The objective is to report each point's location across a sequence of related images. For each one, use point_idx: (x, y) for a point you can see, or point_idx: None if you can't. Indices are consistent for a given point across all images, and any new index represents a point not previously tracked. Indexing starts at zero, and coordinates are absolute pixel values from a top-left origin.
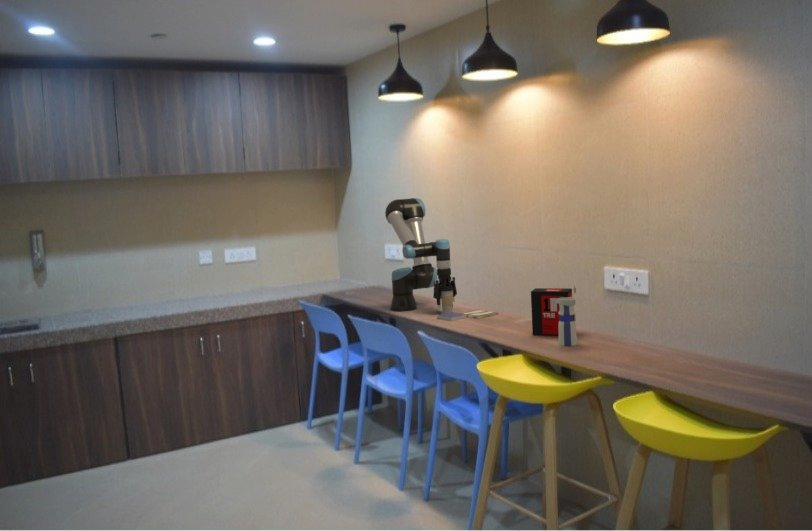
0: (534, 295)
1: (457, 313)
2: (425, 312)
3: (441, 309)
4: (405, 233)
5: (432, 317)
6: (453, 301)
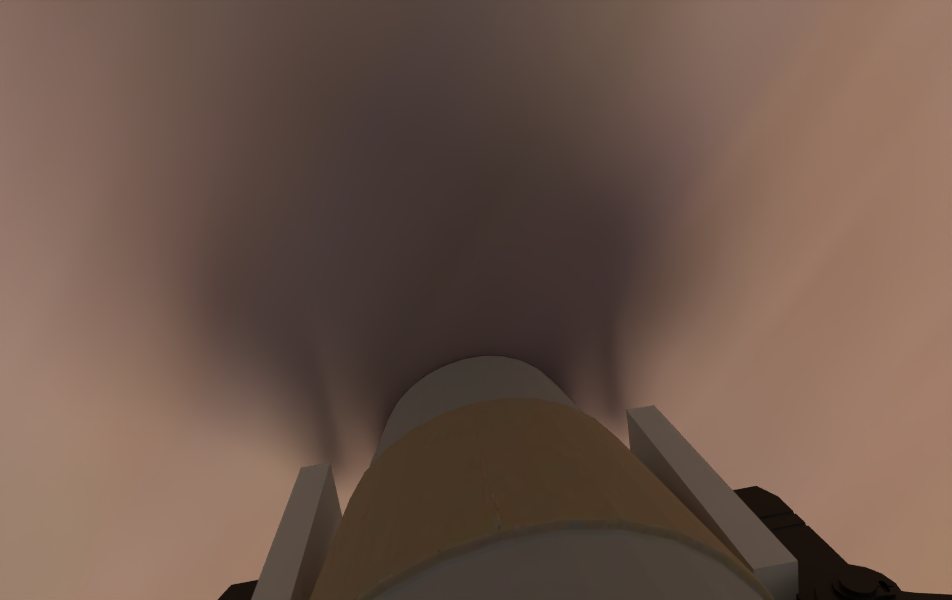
0: None
1: None
2: (241, 15)
3: None
4: None
5: (106, 562)
6: None
